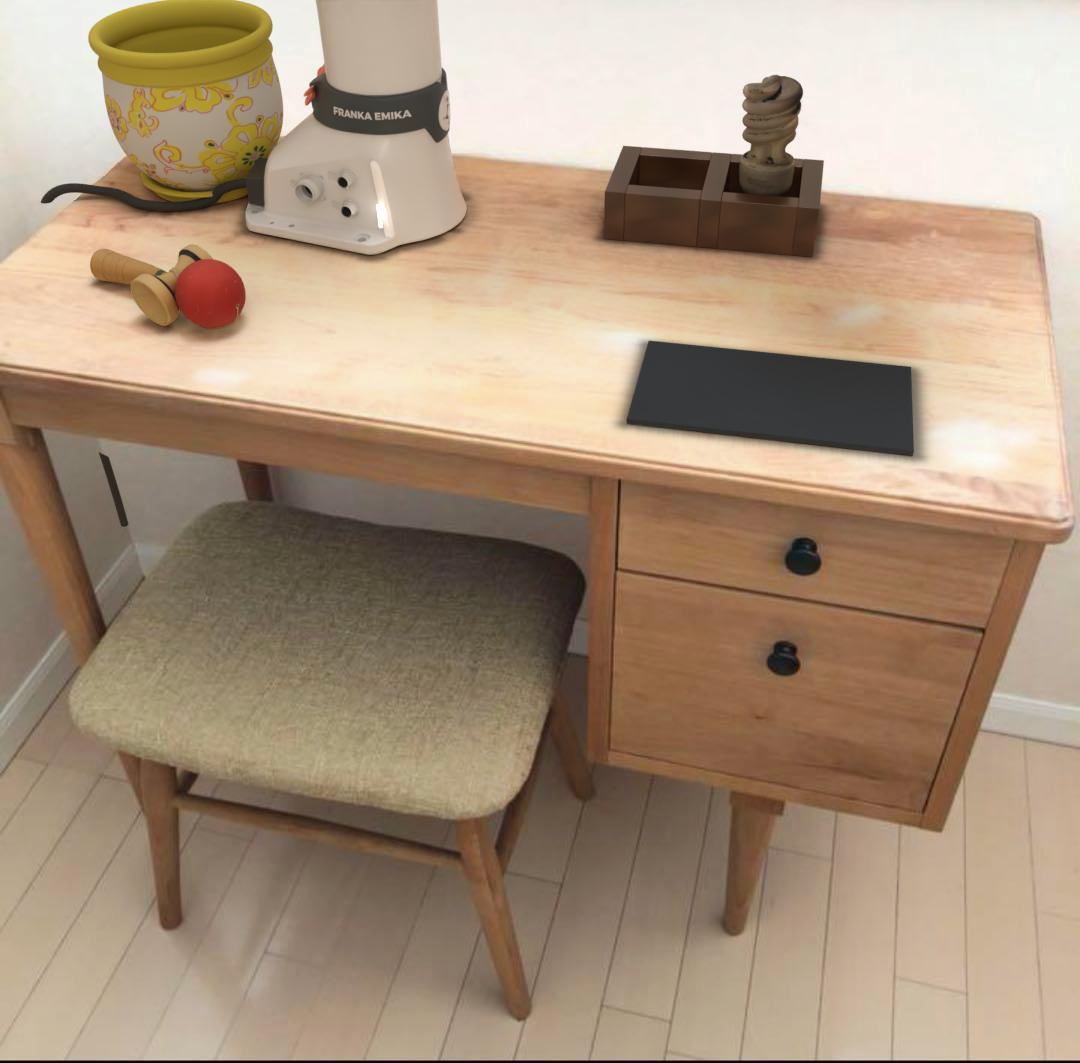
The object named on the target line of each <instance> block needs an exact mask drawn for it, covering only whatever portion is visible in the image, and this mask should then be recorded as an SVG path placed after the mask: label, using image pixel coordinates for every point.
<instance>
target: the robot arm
mask: <svg viewBox="0 0 1080 1063" xmlns="http://www.w3.org/2000/svg"><path fill="white" fill-rule="evenodd" d="M315 5H316V11H317V17H318V26H319V27H318V28H319V33H320V40H321V48H322V54H323V62H324V63H323V65H322V66H321V67H319V68H318V69H317V73H316V76H315V78H313V79H312V80H311V81H310V82H309V85H308V87H309V88H308V89H306V90H305V91H304V93H303V97H305V99H304V106H305V107H306V106H309V105H310V104H311V108H312V112H311V113H310V114H308V115H307V117H305V118H304V119H303V120H301V121H300V122H299V123H298V124H297V125H296V126H295V127H294V128H293V129H292V130H290V131H289V132H288V133H287V134H286V135H284V137H283V138H282V139H281V140H279V141H278V143H277V145H276V146H275V147H274V149H273V150H272V152H271V153H270V155H269V157H268V158H259V159H258V160H257V162H256V163H255V164H254V166H253V167H252V169H251V170H250V172H249V173H248V174H247V176H246V177H245V178H242V179H237V180H232V181H229V182H226V183H223V184H221V185H219V186H217V187H216V188H215V189H214V190H213V192H212V194H213V196H212V197H205V198H200V199H196V200H191V201H182V202H171V201H166V200H165V201H164V200H163V201H162V200H148V199H143V198H140V197H137V196H134V195H133V194H131V193H129V192H127V191H125V190H123V189H120V188H117V187H116V188H115V187H110V186H102V185H94V184H88V183H80V182H79V183H78V182H75V183H74V182H69V183H62V184H59V185H55V186H54V187H52V188H50V189H49V190H47V192H45V194H44V195H43V196H42V198H41V200H40V204H51V203H53V201H55V199H57V198H58V197H60V196H62V195H66V194H73V193H74V194H87V195H93V196H94V195H95V196H102V197H109V198H115V199H117V200H120V201H122V202H124V203H126V204H128V205H130V206H132V207H135V208H137V209H142V210H147V211H160V212H186V211H193V210H198V209H205V208H207V207H210V206H212V205H214V203H216V202H217V201H218V200H219V199H220V198H221V196H222V195H224V194H225V193H227V192H230V191H232V190H236V189H241V188H246V187H247V193H248V195H247V196H248V197H247V199H248V203H247V205H246V208H245V213H244V216H245V226H246V228H247V230H248V231H250V232H253V233H258V234H262V235H266V236H272V237H278V238H283V239H287V240H292V241H297V242H303V243H307V244H312V245H318V246H322V247H328V248H331V249H332V248H333V249H338V250H342V251H347V252H353V253H356V254H357V253H358V254H362V255H369V256H371V255H373V256H374V255H378V254H382V253H384V252H387V251H389V250H392V249H394V248H397V247H399V246H400V245H401V246H402V245H405V244H410V243H415V242H421V241H424V240H429V239H431V238H434V237H437V236H440V235H442V234H445V233H447V232H448V231H450V230H452V229H453V228H455V227H456V226H457V225H459V224H460V223H461V222H462V221H463V219H464V218H465V217H466V214H467V210H468V207H467V203H466V200H465V198H464V196H463V193H462V190H461V187H460V184H459V179H458V176H457V172H456V168H455V164H454V159H453V153H452V149H451V143H450V137H449V133H450V126H451V100H450V92H449V91H450V90H449V89H448V78H447V72H446V70H445V69H444V67H442V66H443V65H442V51H441V36H440V35H441V34H440V20H439V19H440V18H439V4H438V0H315ZM216 204H217V203H216ZM98 455H99V458H100V461H101V464H102V467H103V470H104V473H105V477H106V480H107V483H108V487H109V490H110V493H111V496H112V499H113V504H114V506H115V507H114V508H115V510H116V513H117V518H118V520H119V524H120V526H121V527H122V528H126V527H127V526H129V521H128V516H127V514H126V510H125V506H124V503H123V498H122V496H121V492H120V489H119V485H118V483H117V479H116V475H115V473H114V469H113V466H112V462H111V459H110V457H109V456H108V455H106V454H105V453H102V452H101V451H99V452H98Z"/></svg>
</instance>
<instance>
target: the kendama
mask: <svg viewBox="0 0 1080 1063" xmlns="http://www.w3.org/2000/svg"><path fill="white" fill-rule="evenodd" d="M177 257H178V259H177V262H176V264H175V266H174V267H171V268H170V269H169V270H168V271H166V270H163V269H161V268H160V267H157V266H155V265H153V264H151V263H148V262H145V261H143V260H140V259H136V258H134V257H131V256H127V255H124V254H121V253H118V252H116V251H113V250H111V249H108V248H99V249H97V250H96V251H95V252H94V253H93V254H92V256H91V258H90V262H89V268H90V272H91V275H92V276H93V277H94V278H95V279H97V280H98V281H103V282H109V283H110V282H111V283H117V284H125V285H129V287H130V293H131V297H132V299H133V300H134V302H135V304H136V305H137V308H139V309H140V311H141V312H142V313H143V314H144V315H145V316H146V317H147V318H148V319H149V320H150V321H152V322H154V323H155V324H157V325H159V326H161V327H166V326H169V325H171V324H172V323H174V322H175V321H177V320H178V318H179V315H180V312H181V314H182V315H183V317H185V318H186V319H187V320H188V321H189V322H190V323H193V324H194V325H195V326H198V327H201V328H205V329H220V328H223V327H227V326H228V325H230V324H234V323H235V322H236V321H237V320H238V318H239V317H240V315H241V313H242V312H243V309H244V307H245V304H246V298H247V297H246V296H247V295H246V293H247V292H246V287H245V284H244V281H243V279H242V277H241V276H240V274H239V273H238V272H237V271H236V270H235V269H234V268H233V267H232V266H231V265H229V264H228V263H226V262H224V261H221V260H220V259H219V260H218V259H215V258H213V257H212V255H211V254H210V253H209V252H208V251H207V250H205V249H204V248H202V247H201V246H200V245H197V244H194V243H190V244H188V245H186V246H184V247H182V248H181V249H180V250H179V252H178V256H177Z"/></svg>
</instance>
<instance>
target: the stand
mask: <svg viewBox="0 0 1080 1063" xmlns="http://www.w3.org/2000/svg"><path fill="white" fill-rule="evenodd" d="M742 155H743V154H742V153H727V152H715V151H714V152H713V151H701V150H700V151H699V150H686V149H673V148H661V147H659V148H658V147H645V146H632V145H622V148H621V150H620V153H619V155H618V158H617V160H616V163H615V164H614V168H613V170H612V172H611V175H610V177H609V180H608V183H607V186H606V187H605V189H604V201H603V202H604V208H603V209H604V210H603V239H604V240H613V241H627V242H637V243H648V244H660V245H672V246H681V247H682V246H683V247H696V248H707V249H717V250H729V251H741V252H751V253H761V254H774V255H786V256H795V257H796V256H797V257H798V256H799V257H808V258H814V250H815V245H816V236H817V230H818V223H819V217H820V216H819V215H820V210H821V201H822V200H821V197H822V189H823V188H822V187H823V178H824V177H823V176H824V175H823V174H824V165H825V160H824V159H811V158H810V159H809V158H795V157H793V158H794V160H795V166H794V173H793V180H792V185H791V188H790V189H789V190H788V192H787V193H786V194H785V195H784V196H783V197H780V196H768V195H755V194H745V192H744V191H743V190H742V188H741V185H740V182H739V167H740V158H741V156H742Z"/></svg>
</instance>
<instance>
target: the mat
mask: <svg viewBox="0 0 1080 1063" xmlns="http://www.w3.org/2000/svg"><path fill="white" fill-rule="evenodd" d="M640 366H641V367H640V369H639V374H638V376H637V377H638V378H637V381H636V384H635V388H634V392H633V395H632V399H631V402H630V406H629V410H628V413H627V417H626V424H628V425H636V426H645V427H655V428H664V429H670V430H671V429H673V430H681V431H691V432H699V433H708V434H709V433H710V434H717V435H725V436H726V435H727V436H736V437H746V438H751V439H753V438H754V439H761V440H772V441H780V442H789V443H796V444H797V443H798V444H805V445H816V446H824V447H831V448H832V447H834V448H842V449H851V450H858V451H859V450H860V451H867V452H877V453H878V452H879V453H885V454H896V455H905V456H913V455H914V453H915V444H914V442H915V441H914V414H913V410H914V409H913V385H912V384H913V381H912V366H908V365H896V364H888V363H877V362H868V361H867V362H866V361H857V360H848V359H847V360H846V359H837V358H828V357H827V358H826V357H817V356H808V355H798V354H797V355H796V354H789V353H779V352H767V351H757V350H746V349H738V348H729V347H727V348H726V347H718V346H717V347H716V346H708V345H707V346H706V345H697V344H690V343H689V344H687V343H677V342H667V341H658V340H648V342H647V345H646V349H645V352H644V356H643V359H642V363H641V365H640Z"/></svg>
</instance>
